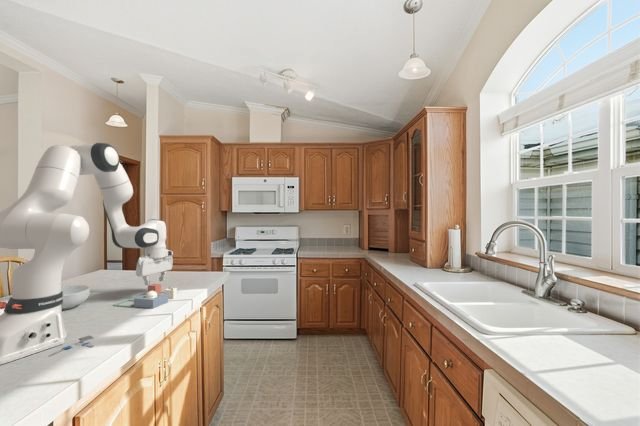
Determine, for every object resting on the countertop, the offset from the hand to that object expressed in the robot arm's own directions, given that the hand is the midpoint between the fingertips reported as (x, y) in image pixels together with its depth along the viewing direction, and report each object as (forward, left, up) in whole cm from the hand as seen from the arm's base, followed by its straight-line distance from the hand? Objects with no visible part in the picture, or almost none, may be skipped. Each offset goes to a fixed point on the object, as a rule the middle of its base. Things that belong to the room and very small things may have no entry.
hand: (154, 282), depth 145 cm
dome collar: (-13, -9, -6) cm, 17 cm away
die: (-2, -10, -6) cm, 12 cm away
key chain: (-52, -18, -7) cm, 55 cm away
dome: (-13, -9, -5) cm, 17 cm away
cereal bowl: (-25, +21, -6) cm, 34 cm away
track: (-7, 0, -6) cm, 9 cm away
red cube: (0, 0, -6) cm, 6 cm away
